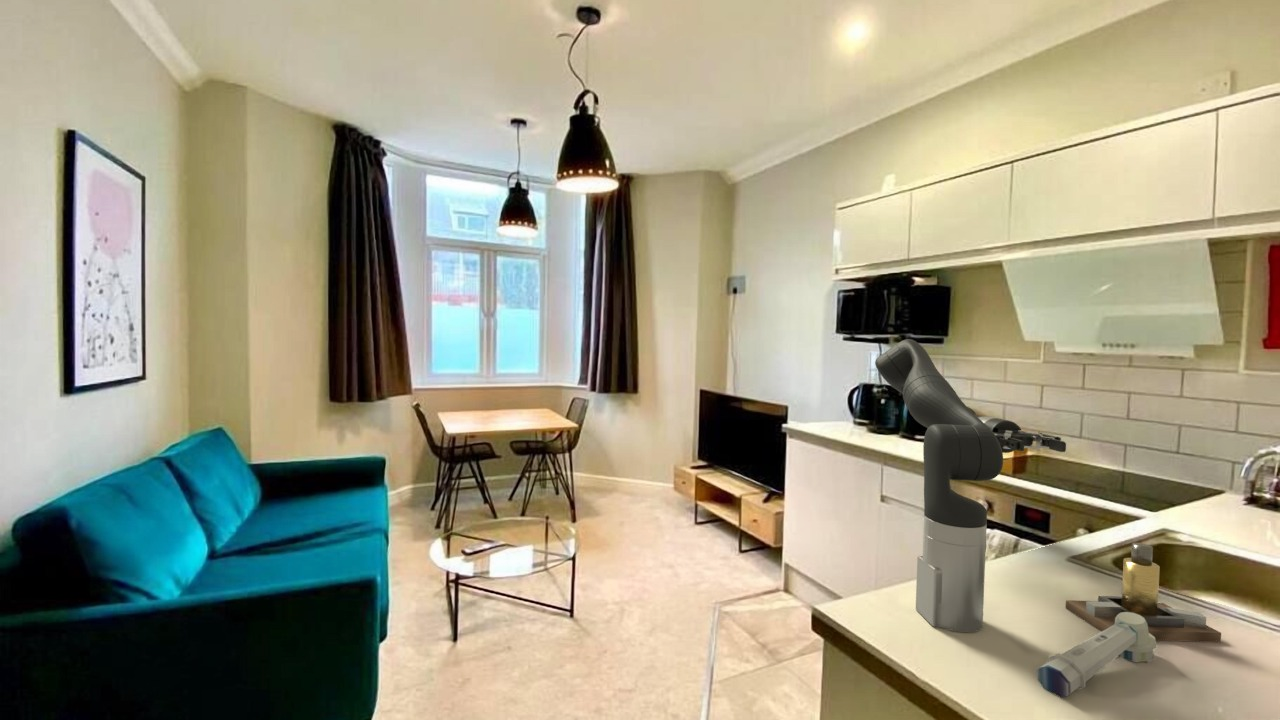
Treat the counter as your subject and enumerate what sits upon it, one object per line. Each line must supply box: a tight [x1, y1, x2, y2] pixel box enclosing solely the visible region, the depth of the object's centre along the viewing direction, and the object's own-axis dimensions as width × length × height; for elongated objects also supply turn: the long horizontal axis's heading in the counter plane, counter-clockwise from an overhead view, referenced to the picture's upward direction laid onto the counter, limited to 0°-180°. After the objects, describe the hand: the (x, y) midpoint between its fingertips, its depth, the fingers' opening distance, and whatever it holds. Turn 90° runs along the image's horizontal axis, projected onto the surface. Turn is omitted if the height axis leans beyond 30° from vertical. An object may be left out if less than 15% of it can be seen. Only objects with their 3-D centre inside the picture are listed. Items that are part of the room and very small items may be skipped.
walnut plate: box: [1065, 599, 1222, 643], centre depth 93 cm, size 17×10×2 cm, turn 89°
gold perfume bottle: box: [1121, 542, 1161, 616], centre depth 92 cm, size 4×4×12 cm
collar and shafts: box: [1085, 595, 1207, 628], centre depth 93 cm, size 16×8×2 cm, turn 89°
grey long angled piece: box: [1036, 612, 1157, 698], centre depth 79 cm, size 5×7×25 cm
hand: (1043, 446), depth 114 cm, fingers open, 8 cm apart
